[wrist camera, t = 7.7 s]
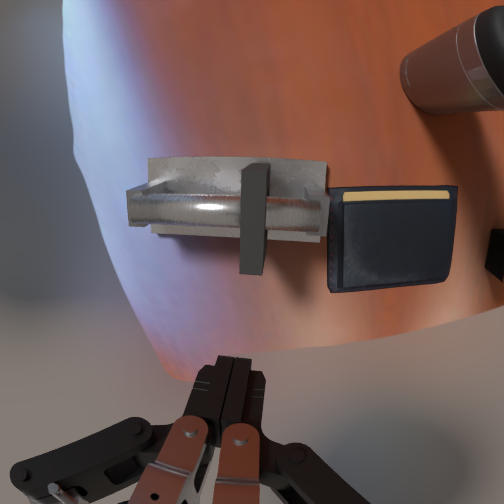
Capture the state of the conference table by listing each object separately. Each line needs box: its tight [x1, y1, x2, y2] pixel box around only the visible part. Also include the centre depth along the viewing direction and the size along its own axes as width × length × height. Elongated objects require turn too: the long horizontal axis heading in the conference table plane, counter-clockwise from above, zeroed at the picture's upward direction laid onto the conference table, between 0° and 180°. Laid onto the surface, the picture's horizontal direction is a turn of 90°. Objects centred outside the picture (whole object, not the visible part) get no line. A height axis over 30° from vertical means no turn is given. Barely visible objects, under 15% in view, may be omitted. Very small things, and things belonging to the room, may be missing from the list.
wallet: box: [327, 185, 458, 293], centre depth 35 cm, size 20×2×15 cm
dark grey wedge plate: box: [239, 163, 271, 275], centre depth 28 cm, size 2×9×9 cm, turn 178°
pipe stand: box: [126, 156, 330, 243], centre depth 31 cm, size 22×10×10 cm, turn 88°
